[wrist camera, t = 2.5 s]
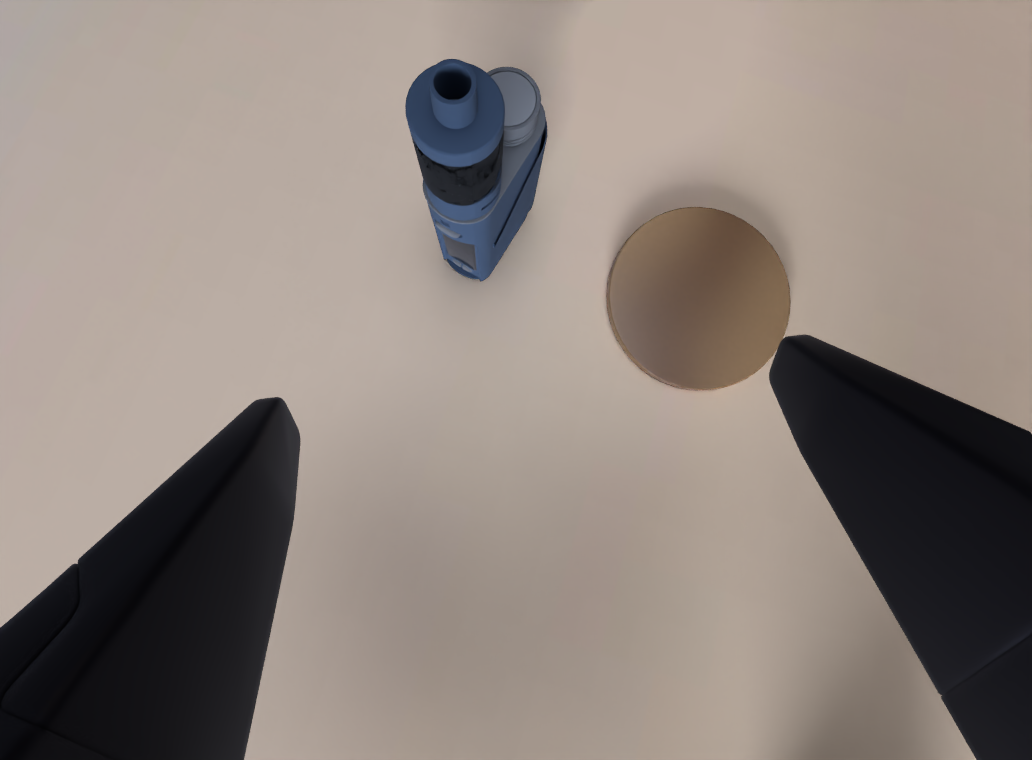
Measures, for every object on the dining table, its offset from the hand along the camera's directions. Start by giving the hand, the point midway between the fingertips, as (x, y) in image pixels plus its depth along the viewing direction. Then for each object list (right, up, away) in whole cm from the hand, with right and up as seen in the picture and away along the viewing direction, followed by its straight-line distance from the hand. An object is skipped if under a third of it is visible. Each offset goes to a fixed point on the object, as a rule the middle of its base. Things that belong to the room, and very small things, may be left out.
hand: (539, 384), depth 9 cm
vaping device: (-2, +7, +14) cm, 16 cm away
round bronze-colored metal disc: (+8, +4, +14) cm, 17 cm away
